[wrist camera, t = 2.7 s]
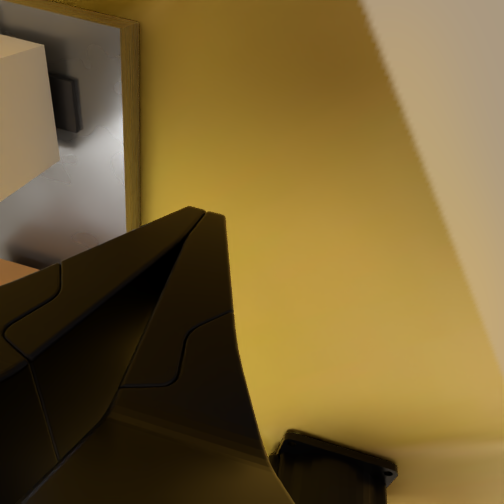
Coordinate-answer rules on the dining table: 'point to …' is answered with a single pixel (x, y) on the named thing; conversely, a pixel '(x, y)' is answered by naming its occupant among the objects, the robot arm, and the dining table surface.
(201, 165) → the dining table surface
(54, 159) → the block
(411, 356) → the dining table surface
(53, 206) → the console
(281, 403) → the dining table surface
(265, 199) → the dining table surface
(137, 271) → the robot arm
